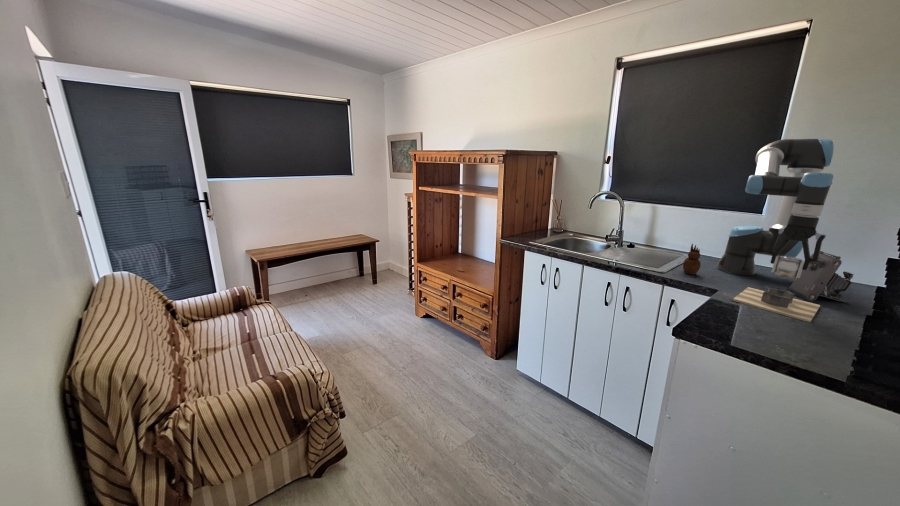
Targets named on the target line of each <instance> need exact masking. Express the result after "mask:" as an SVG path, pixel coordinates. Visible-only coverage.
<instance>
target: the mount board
mask: <svg viewBox="0 0 900 506" xmlns="http://www.w3.org/2000/svg"><path fill="white" fill-rule="evenodd" d="M763 292H767V291H765V290H761V289H757V288H753V287H749V286H748V287H746V288H745V289H744V290H743V291H741V292H740V293H739V294H738V295H736V296H734V297H733V298H732V301H733V302H737V303H740V304H743V305H747V306H751V307H754V308H757V309H760V310H763V311H768V312H771V313H775V314H779V315H782V316H786V317H789V318H794V319H797V320H800V321H804V322H807V323H811V322H812V320H813V318H814V317H815V316H816V313H817V312H818V310H819V309H820V307H821V304H818V303H817V304H816V303H813V302H811V301H807V300H806V301H804V300H802V299H797V298H794V297H793V300H792V303H789V305H788V308H784V307H778V306H774V305H770V304H767V303H765V302H762V301H761V299H762V295H763Z"/></svg>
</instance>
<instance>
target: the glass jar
mask: <svg viewBox="0 0 900 506" xmlns="http://www.w3.org/2000/svg"><path fill="white" fill-rule="evenodd" d="M802 260H803V259H801V258H798V257H789V256H779V261H778V264H777V267H776V270H775V272H774V275H776V276H778V277H779V276H780V277H783V278H786V279H787V278H788V279H789V278H790V279H796V276H797V273H798V270H799V267H800V264H801V261H802Z"/></svg>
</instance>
